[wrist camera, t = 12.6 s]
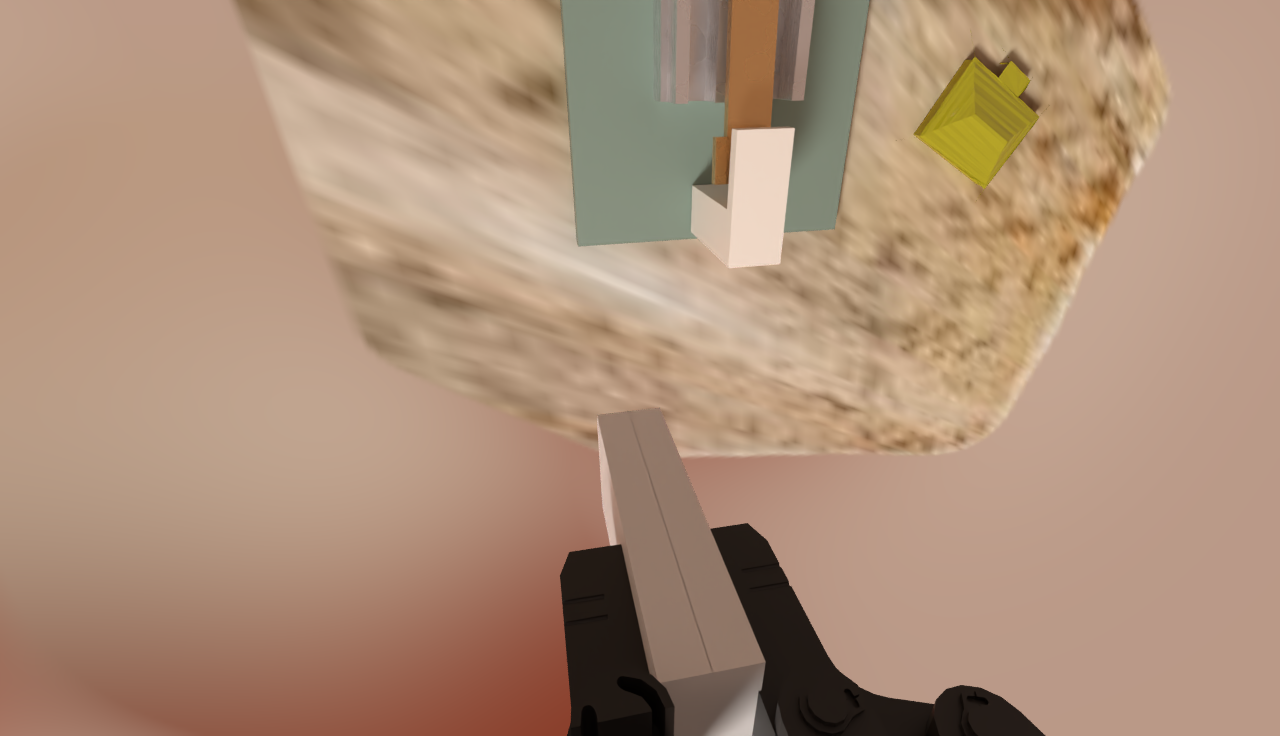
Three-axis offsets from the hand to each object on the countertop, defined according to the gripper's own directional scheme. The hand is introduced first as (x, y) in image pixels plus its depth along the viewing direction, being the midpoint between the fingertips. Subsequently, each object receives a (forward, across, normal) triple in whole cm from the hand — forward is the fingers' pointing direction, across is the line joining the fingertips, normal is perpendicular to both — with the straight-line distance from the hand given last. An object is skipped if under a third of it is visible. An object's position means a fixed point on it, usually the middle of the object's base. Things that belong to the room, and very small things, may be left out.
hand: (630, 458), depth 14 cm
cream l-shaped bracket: (+25, +10, +2) cm, 27 cm away
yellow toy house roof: (+27, +29, +5) cm, 40 cm away
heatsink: (+25, +10, +10) cm, 29 cm away
